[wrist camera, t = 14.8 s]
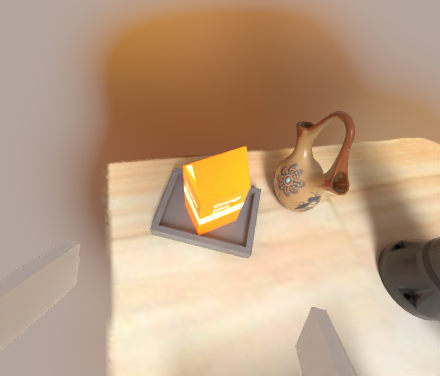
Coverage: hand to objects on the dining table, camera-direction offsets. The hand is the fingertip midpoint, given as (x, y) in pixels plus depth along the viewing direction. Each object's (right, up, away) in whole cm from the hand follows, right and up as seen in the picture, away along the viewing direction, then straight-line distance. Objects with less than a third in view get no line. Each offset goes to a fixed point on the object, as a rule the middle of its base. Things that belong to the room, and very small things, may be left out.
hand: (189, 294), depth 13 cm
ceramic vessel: (+18, +4, +42) cm, 46 cm away
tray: (-1, 0, +37) cm, 37 cm away
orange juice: (0, +1, +37) cm, 37 cm away
